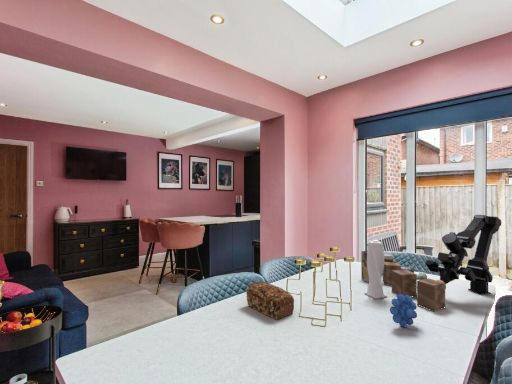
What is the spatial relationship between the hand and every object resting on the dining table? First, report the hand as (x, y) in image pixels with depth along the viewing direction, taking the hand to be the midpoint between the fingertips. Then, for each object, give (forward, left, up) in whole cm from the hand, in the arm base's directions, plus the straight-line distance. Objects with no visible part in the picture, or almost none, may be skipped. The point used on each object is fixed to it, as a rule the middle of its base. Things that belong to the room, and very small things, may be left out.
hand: (441, 285), depth 121 cm
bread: (+76, +1, -8) cm, 77 cm away
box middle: (+9, -12, -8) cm, 17 cm away
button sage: (+3, -12, -2) cm, 13 cm away
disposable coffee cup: (0, -44, -8) cm, 45 cm away
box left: (+6, -28, -8) cm, 30 cm away
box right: (+7, +3, -8) cm, 11 cm away
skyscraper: (+24, -10, -8) cm, 28 cm away
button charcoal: (+1, -25, -2) cm, 25 cm away
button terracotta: (+4, +2, -2) cm, 5 cm away
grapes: (+29, +20, -8) cm, 37 cm away
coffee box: (+15, -32, -8) cm, 36 cm away
